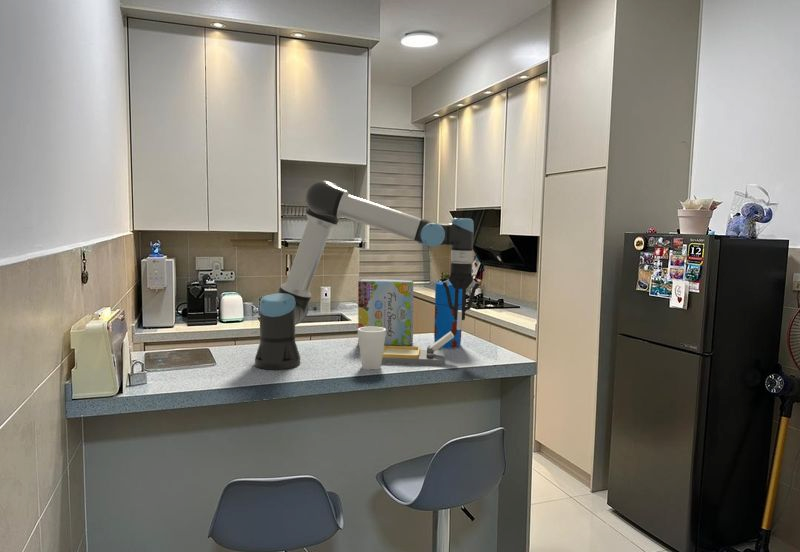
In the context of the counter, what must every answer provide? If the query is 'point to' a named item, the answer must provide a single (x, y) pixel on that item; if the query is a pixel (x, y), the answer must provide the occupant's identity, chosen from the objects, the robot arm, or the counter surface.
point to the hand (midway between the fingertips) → (458, 329)
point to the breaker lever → (440, 343)
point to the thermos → (446, 315)
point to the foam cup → (371, 346)
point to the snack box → (387, 308)
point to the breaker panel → (411, 356)
